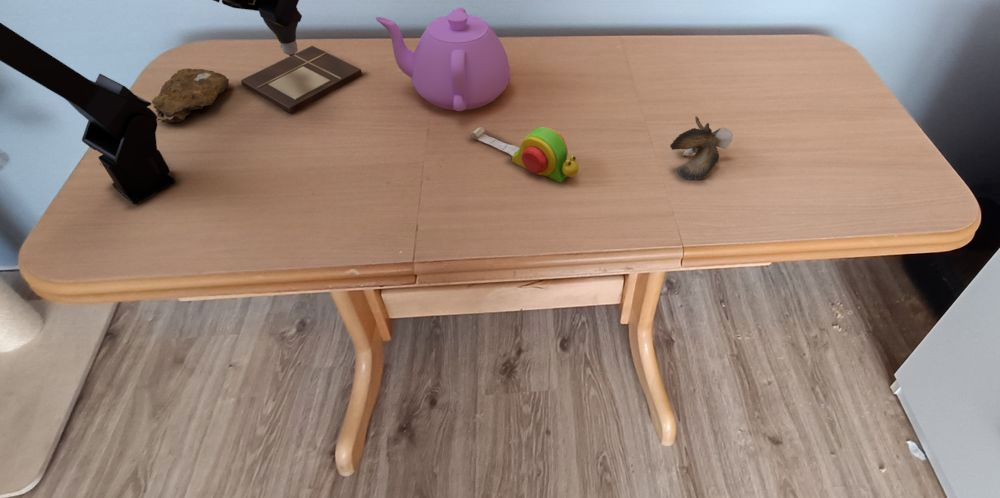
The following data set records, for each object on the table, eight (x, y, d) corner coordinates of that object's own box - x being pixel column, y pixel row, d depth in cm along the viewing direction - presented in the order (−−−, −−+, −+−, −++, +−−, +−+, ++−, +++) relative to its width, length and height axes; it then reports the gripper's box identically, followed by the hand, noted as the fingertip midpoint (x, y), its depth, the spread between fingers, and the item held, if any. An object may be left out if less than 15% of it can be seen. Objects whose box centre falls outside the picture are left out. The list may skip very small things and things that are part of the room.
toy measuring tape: (563, 195, 85) (567, 159, 80) (462, 144, 93) (460, 109, 88) (587, 173, 88) (592, 137, 83) (488, 126, 96) (487, 91, 92)
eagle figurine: (676, 131, 93) (656, 151, 87) (712, 103, 88) (693, 122, 82) (706, 167, 94) (688, 190, 87) (744, 142, 88) (727, 164, 82)
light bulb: (305, 44, 102) (291, -14, 94) (311, 59, 98) (296, 0, 91) (272, 50, 100) (255, -9, 93) (276, 65, 97) (258, 6, 89)
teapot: (392, 60, 111) (381, -13, 101) (506, 58, 111) (507, -16, 101) (381, 129, 96) (366, 51, 86) (513, 125, 96) (514, 47, 86)
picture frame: (291, 114, 99) (289, 107, 98) (242, 86, 105) (240, 79, 104) (362, 75, 107) (361, 68, 106) (313, 51, 113) (311, 44, 112)
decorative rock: (211, 131, 96) (240, 85, 107) (204, 109, 93) (234, 64, 104) (141, 128, 96) (176, 82, 106) (131, 106, 93) (169, 61, 103)
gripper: (273, -78, 76) (348, -21, 91) (183, -104, 83) (266, -46, 98) (243, 3, 78) (322, 47, 92) (157, -29, 85) (243, 17, 99)
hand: (287, 14), depth 95 cm, fingers closed on light bulb, 5 cm apart
